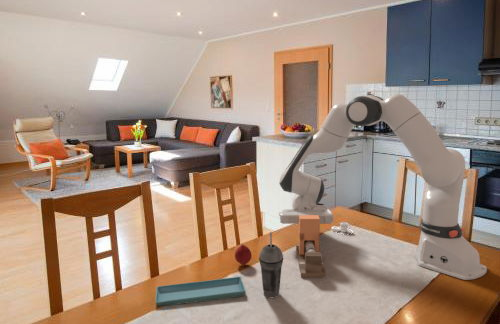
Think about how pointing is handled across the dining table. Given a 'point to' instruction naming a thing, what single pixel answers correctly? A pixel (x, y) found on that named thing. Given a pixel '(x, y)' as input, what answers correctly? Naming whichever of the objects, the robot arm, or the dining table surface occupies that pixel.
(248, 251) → the onion
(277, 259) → the beverage cup
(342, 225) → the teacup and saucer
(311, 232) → the orange angular piece
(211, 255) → the dining table surface
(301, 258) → the pipe rig
